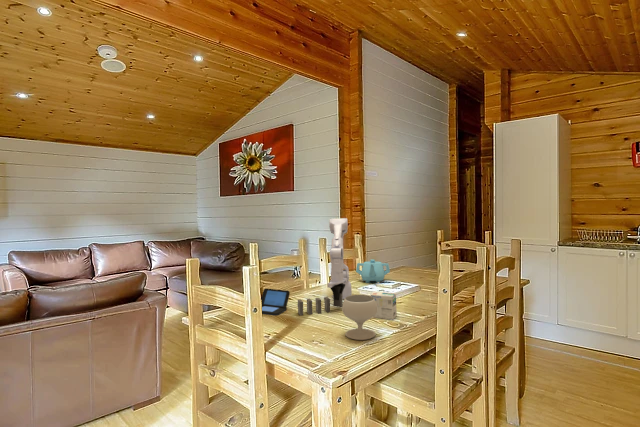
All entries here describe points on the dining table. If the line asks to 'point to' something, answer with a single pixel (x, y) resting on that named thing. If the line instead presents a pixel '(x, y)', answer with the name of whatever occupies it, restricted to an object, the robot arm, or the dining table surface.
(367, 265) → the teapot
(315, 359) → the dining table surface
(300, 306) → the domino
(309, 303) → the domino
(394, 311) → the light bulb box
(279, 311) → the handheld game console
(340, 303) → the domino
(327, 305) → the domino
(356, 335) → the chalice
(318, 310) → the domino
